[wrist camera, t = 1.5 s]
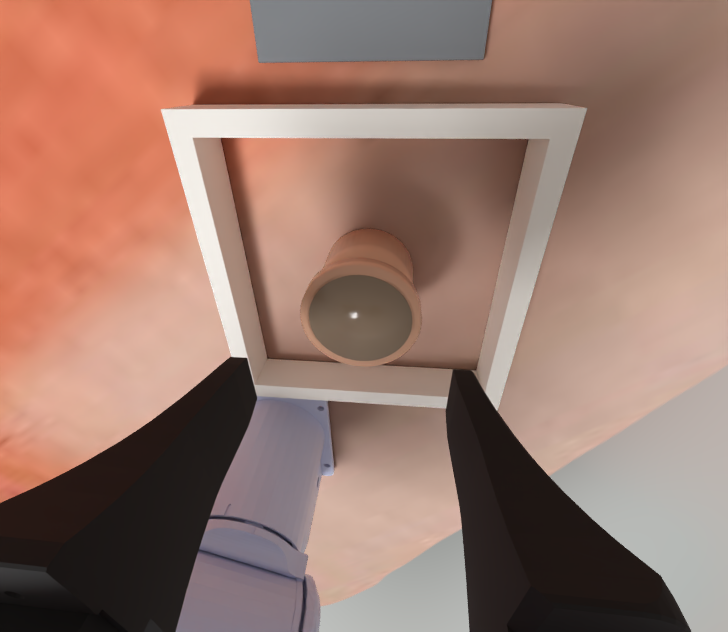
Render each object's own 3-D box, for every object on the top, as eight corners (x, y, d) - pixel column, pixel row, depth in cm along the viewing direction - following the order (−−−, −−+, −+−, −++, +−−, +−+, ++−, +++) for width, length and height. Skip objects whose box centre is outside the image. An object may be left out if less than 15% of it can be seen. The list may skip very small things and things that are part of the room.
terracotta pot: (414, 312, 21) (416, 370, 17) (325, 308, 22) (306, 364, 18) (421, 224, 18) (427, 269, 14) (317, 221, 19) (293, 264, 15)
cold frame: (489, 382, 24) (497, 411, 22) (255, 368, 25) (242, 395, 23) (561, 103, 15) (587, 108, 13) (191, 104, 16) (160, 109, 14)
